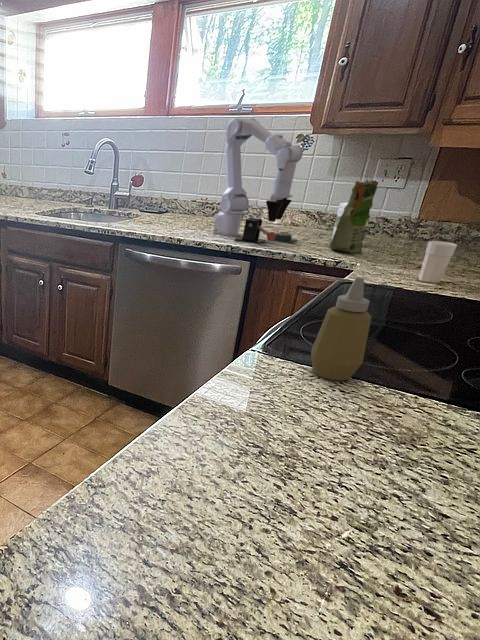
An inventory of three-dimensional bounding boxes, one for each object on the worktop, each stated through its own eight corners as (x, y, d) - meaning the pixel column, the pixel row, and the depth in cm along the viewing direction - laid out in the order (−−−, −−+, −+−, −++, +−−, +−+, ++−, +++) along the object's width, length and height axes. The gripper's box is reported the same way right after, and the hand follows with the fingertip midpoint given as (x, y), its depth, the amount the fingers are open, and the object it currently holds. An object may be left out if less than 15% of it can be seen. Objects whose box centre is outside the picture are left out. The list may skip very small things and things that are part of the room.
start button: (277, 235, 203) (278, 230, 203) (280, 234, 205) (281, 229, 205) (285, 236, 201) (286, 231, 201) (288, 235, 203) (289, 230, 203)
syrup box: (352, 242, 205) (363, 204, 199) (337, 242, 205) (348, 204, 199) (344, 239, 210) (354, 202, 204) (329, 239, 210) (339, 202, 204)
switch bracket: (265, 242, 203) (270, 219, 199) (257, 245, 198) (262, 222, 194) (241, 239, 209) (246, 216, 205) (233, 242, 203) (238, 219, 200)
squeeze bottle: (338, 365, 99) (367, 271, 91) (367, 384, 91) (401, 284, 84) (296, 365, 99) (322, 271, 91) (322, 384, 91) (352, 284, 84)
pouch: (357, 249, 194) (378, 178, 184) (368, 256, 184) (391, 181, 174) (323, 246, 197) (342, 177, 187) (333, 253, 187) (353, 180, 176)
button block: (266, 241, 205) (268, 233, 204) (272, 239, 209) (273, 231, 208) (291, 245, 200) (293, 237, 198) (296, 242, 204) (298, 235, 202)
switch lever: (273, 240, 198) (278, 234, 197) (270, 242, 196) (275, 235, 195) (249, 225, 203) (254, 218, 201) (246, 225, 201) (251, 219, 199)
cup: (416, 276, 159) (428, 240, 155) (443, 280, 156) (457, 243, 151) (414, 280, 155) (427, 243, 150) (442, 284, 151) (456, 246, 146)
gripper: (288, 184, 182) (279, 223, 187) (301, 181, 191) (292, 219, 197) (267, 182, 186) (259, 221, 192) (281, 179, 196) (272, 217, 201)
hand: (274, 220), depth 195 cm, fingers open, 6 cm apart
